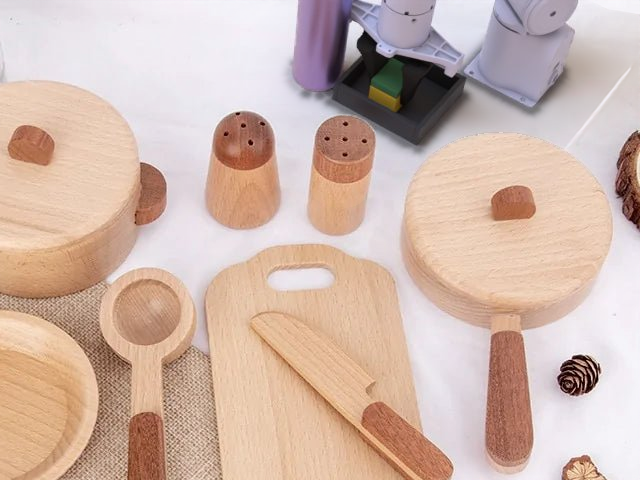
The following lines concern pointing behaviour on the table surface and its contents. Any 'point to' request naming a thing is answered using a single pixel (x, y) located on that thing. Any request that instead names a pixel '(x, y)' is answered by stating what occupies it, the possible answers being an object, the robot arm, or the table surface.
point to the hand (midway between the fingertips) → (391, 91)
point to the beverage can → (320, 42)
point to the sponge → (388, 85)
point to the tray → (410, 119)
